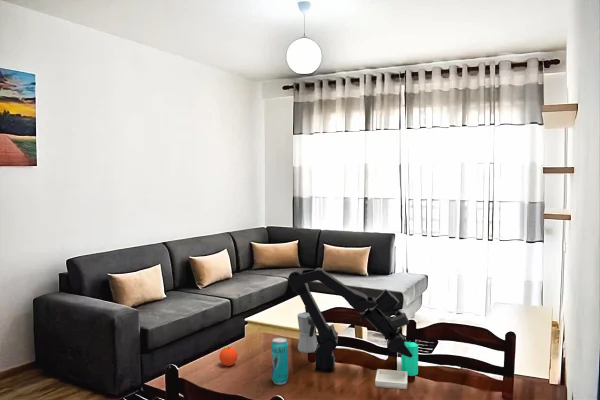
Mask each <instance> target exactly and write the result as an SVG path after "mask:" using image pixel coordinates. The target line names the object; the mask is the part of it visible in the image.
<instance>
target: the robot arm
mask: <svg viewBox="0 0 600 400" xmlns="http://www.w3.org/2000/svg"><path fill="white" fill-rule="evenodd" d="M316 281H319V282H320V283H321V284H323V285H324V286H326V287H327V288H329V289H330V290H331V291H333V292H335V293H336V294H338V295H339V296H340V297H342V298H343V299H344V300H345V301H346V302H347V303H348V305H349V306H351V307H352V308H353V309H354V311H356V312H358V313H359V316H360V322H363V321H365V320H367V321H368V322H369V323H370V324H371V325H372V326H373V327H374V328H375V332H376V333H380V334H381V335H382V336H383V339H384V340H385V341H386V348H387V349H388V350H389V351H390V352H391V353H392V352H393V353H397V354H400V355H401V354H402V355H405V356H407V357H410V358H411V357H412V356H413V355H412V354H411V352H410V351H409V349H408V348H407V347H406V345H405V344H404V342H408V341H407V338H406V337H405V336H404V334H403V327H404V326H408V325H409V324H410V320H409V319H408V315H406V312H402V311H401V310H397V311H395V315H394V316H393V317H390V316H386V315H385V314H386V313H390V312H391V311H392V310H393V309H394V308H395V307H396V306H397V305H398V304H399V303H400V301H399V299H398V298H397V297H396V296H395V295H394V294H393V293H391V292H390V291H389V290H388V289H384V290H383V291H382V293H381V294H379V295H378V297H376V296H375V297H373V296H368V295H366V293H364V292H361V291H359V290H356V289H354V288H351V287H348V285H346V284H344V283H343V282H341V281H340V280H338V279H337V278H335V277H334V276H333V275H331V274H330V273H328V272H327V271H325V270H324V268H322V267H317V268H312V269H311V268H309V269H303V270H302V269H300V268H295V269H293V270H292V271H291V273H289V275H288V277H287V282H288V284H289V286H290V287H291V289H292V290H293V291H294V292H295V293H296V294H297V295H298V296H299V297H300V300H301V301H302V303H303V305H304V308H305V307H306V309H307V311H308V313H309V315H310V317H311V318H312V320H313V322H314V324H315V326H316V331H317V335H318V338H319V339H318V340H319V341H317V348H316V352H314V354H315V366H314V367H315V368H314V371H315V372H323V373H324V372H325V373H332V372H333V370H334V369H335V367H336V361H335V360H336V356H335V355H334V350H336V348H337V345H338V341H339V338H338V336H339V333H338V331H337V330H336V329H335V325H334V324H332V325H329V323H327V321H326V320H325V317H324V316H323V314H322V311H321V309H320V307H319V306H318V304H317V302H316V301H315V298H314V297H313V295H312V293H311V291H310V288H309V284H308V283H311V282H316ZM384 313H385V314H384Z"/></svg>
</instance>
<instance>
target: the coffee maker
mask: <svg viewBox="0 0 600 400" xmlns="http://www.w3.org/2000/svg"><path fill="white" fill-rule="evenodd" d="M304 310H305V312H300V313H298V314H297V324H298V330H299V337H298V338H299V339H298V344H297V350H298V352H300V353H305V354H308V353H309V354H311V353H316V352H315V351H316V348H317V344H318V339H317V334H316V331H317V328H316V326H315V324H314V322H313V320H312V318H311V317H310V315H309V313H308V311H307V309H306V307H305V306H304Z"/></svg>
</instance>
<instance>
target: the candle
mask: <svg viewBox="0 0 600 400" xmlns="http://www.w3.org/2000/svg"><path fill="white" fill-rule="evenodd" d="M404 344H405V345H406V347H407V348H408V349H409V351H410V352H411V354H412V355H413V356H412V357H411V358H410V357H407V356H405V355H402V354H400V356H401V359H400V364H401V365H400V369H401V370H400V371H408V376H410V377H414V376H417V375H418V374H419V345H418V344H417V343H416V342H414V341H413V342H412V341H407V342H404Z"/></svg>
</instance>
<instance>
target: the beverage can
mask: <svg viewBox="0 0 600 400" xmlns="http://www.w3.org/2000/svg"><path fill="white" fill-rule="evenodd" d="M271 340H272V341H271V342H272V343H271V347H270V348H271V379H272V382H273V384H274V385H276V386H277V385H278V386H282V385H285V384H287V382H288V380H289V343H288V339H287V338H285V337H275V338H273V339H271Z"/></svg>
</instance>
